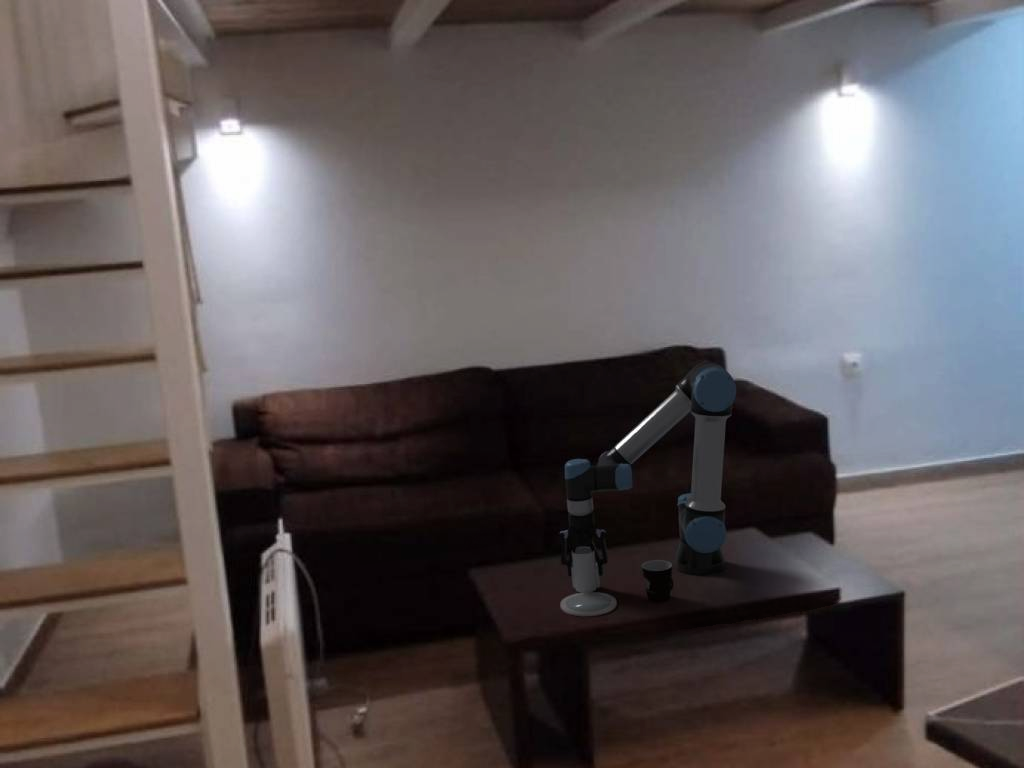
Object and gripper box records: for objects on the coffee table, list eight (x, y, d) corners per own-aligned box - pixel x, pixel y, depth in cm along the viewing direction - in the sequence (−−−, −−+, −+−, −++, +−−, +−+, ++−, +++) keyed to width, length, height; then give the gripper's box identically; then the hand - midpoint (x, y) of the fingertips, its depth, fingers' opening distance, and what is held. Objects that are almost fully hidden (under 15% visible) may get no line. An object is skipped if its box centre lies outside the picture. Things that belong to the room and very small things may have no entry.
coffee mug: (642, 593, 299) (640, 561, 297) (671, 592, 299) (670, 559, 297) (646, 609, 287) (644, 575, 286) (677, 607, 287) (675, 573, 285)
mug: (599, 592, 302) (596, 553, 300) (576, 594, 301) (573, 555, 299) (593, 579, 312) (590, 542, 310) (571, 582, 311) (568, 544, 309)
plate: (618, 594, 300) (618, 591, 300) (614, 616, 284) (614, 613, 284) (563, 594, 303) (563, 592, 302) (557, 616, 287) (557, 613, 287)
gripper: (614, 506, 304) (619, 580, 308) (549, 509, 308) (555, 582, 312) (612, 514, 297) (618, 589, 301) (546, 516, 300) (552, 591, 304)
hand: (586, 585), depth 306 cm, fingers closed on mug, 6 cm apart
